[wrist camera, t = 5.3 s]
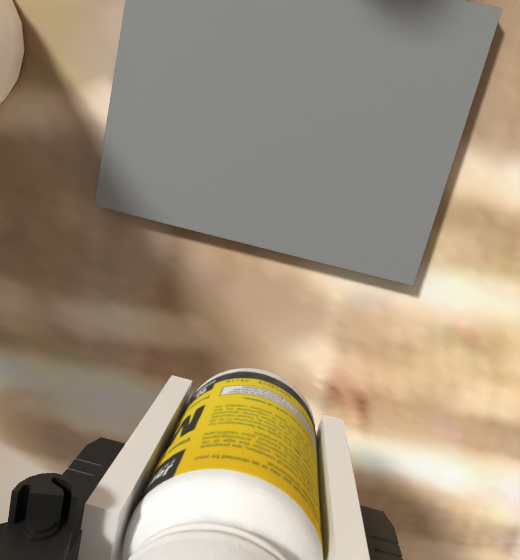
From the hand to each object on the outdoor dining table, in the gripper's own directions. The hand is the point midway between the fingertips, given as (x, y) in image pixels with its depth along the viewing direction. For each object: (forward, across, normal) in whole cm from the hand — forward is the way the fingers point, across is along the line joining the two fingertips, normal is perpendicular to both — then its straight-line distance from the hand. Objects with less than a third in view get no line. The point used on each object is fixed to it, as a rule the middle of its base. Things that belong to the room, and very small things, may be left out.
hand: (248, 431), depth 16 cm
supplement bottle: (+1, 0, 0) cm, 1 cm away
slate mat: (+9, -2, +12) cm, 15 cm away
